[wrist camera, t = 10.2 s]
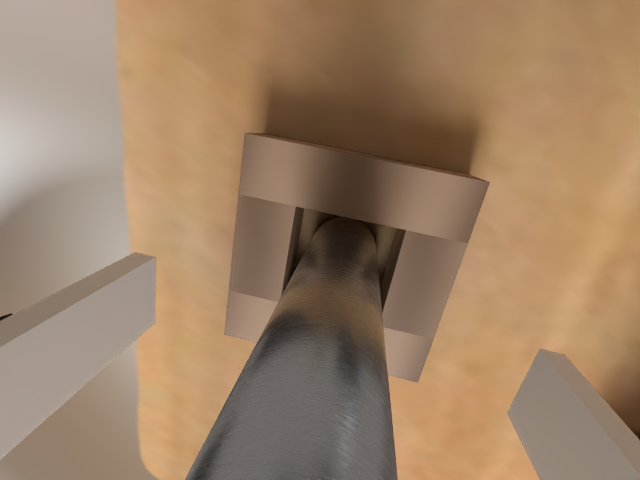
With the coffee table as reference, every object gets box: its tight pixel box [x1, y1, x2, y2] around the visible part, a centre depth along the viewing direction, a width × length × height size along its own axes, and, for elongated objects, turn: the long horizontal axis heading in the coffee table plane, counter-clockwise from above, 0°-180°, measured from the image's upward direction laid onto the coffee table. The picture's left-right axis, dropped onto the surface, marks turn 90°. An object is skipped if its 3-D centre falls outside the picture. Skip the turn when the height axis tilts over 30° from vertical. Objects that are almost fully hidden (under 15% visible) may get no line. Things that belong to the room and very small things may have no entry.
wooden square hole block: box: [224, 133, 490, 383], centre depth 18 cm, size 12×12×3 cm
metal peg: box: [185, 218, 398, 480], centre depth 12 cm, size 4×4×16 cm
